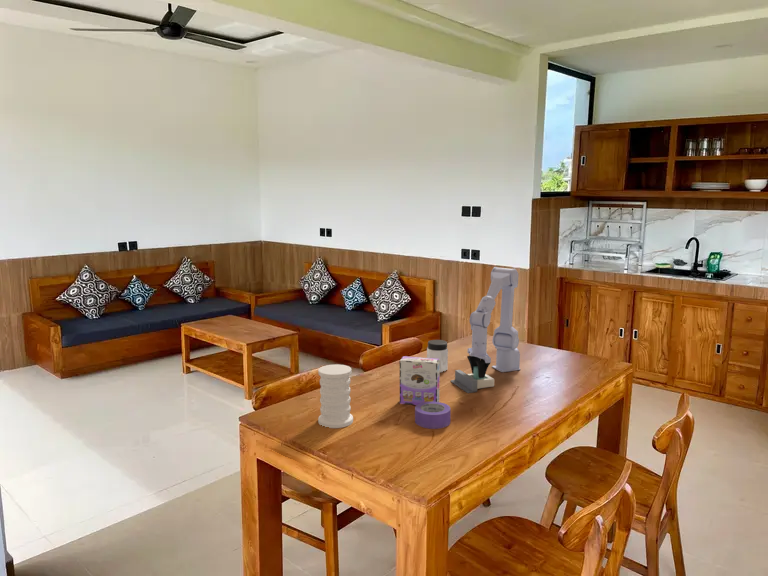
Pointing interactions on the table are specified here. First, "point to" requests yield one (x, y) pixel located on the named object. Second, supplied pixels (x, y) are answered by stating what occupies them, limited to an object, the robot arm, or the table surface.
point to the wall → (465, 382)
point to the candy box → (419, 380)
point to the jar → (438, 352)
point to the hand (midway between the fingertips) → (478, 375)
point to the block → (484, 381)
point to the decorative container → (335, 396)
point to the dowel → (476, 373)
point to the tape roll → (432, 415)
